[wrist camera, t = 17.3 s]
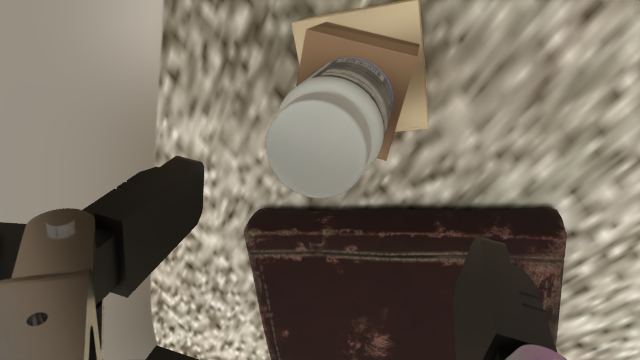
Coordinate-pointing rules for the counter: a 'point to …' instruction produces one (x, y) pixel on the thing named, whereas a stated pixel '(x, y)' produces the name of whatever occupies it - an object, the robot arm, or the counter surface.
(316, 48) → the walnut block
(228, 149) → the counter surface
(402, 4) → the maple block
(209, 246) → the counter surface
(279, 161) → the pill bottle
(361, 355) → the diary
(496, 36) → the counter surface
